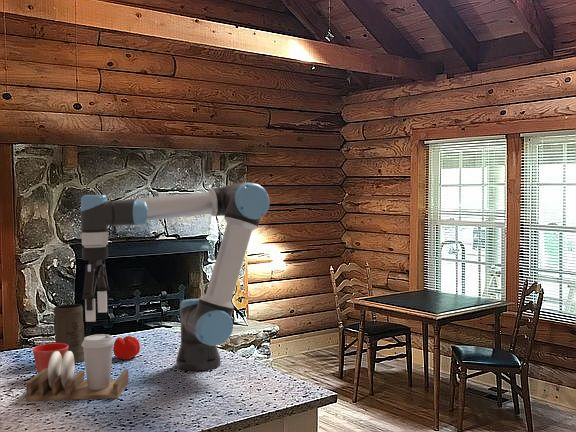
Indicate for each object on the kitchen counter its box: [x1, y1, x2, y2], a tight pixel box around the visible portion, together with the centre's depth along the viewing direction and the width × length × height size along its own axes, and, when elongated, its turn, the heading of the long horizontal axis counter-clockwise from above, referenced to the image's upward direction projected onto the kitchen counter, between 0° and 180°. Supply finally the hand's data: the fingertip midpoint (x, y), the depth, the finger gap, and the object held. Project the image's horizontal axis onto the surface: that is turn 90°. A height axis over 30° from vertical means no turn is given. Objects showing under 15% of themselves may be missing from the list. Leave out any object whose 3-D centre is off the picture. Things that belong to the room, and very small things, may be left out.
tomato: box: [112, 335, 141, 360], centre depth 227 cm, size 9×9×8 cm
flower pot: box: [32, 342, 69, 374], centre depth 205 cm, size 11×11×10 cm
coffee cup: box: [81, 333, 115, 390], centre depth 189 cm, size 10×10×15 cm
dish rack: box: [25, 351, 130, 402], centre depth 189 cm, size 26×15×12 cm, turn 92°
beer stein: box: [53, 303, 85, 364], centre depth 226 cm, size 15×11×20 cm
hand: (96, 316), depth 188 cm, fingers open, 13 cm apart
